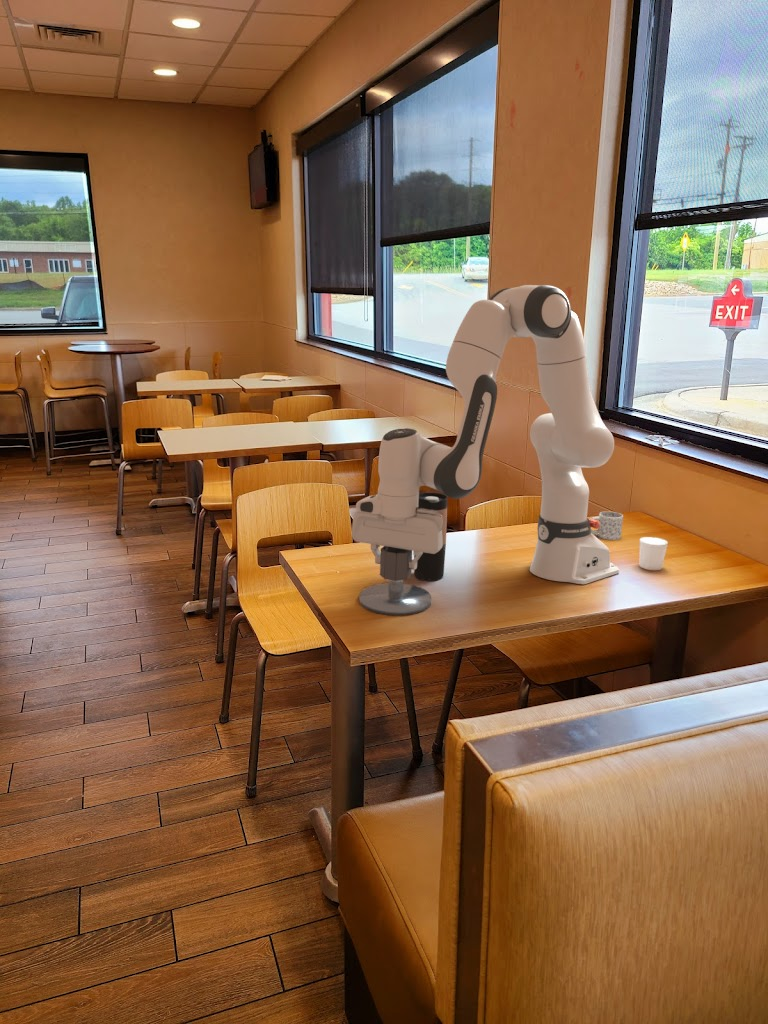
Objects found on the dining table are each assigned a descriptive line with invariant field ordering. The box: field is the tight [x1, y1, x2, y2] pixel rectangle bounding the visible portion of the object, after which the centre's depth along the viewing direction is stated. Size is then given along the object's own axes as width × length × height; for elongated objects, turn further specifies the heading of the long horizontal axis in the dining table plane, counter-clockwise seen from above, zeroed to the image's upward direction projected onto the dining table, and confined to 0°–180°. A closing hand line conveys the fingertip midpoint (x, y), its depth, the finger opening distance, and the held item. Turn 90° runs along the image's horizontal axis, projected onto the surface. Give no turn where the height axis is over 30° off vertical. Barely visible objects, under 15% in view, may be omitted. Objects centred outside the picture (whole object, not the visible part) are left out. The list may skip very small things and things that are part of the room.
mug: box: [588, 510, 624, 541], centre depth 218 cm, size 10×7×7 cm, turn 94°
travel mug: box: [413, 492, 448, 582], centre depth 182 cm, size 8×8×20 cm
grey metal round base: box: [358, 579, 432, 616], centre depth 167 cm, size 16×16×10 cm
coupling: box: [379, 546, 413, 581], centre depth 166 cm, size 6×6×6 cm
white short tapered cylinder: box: [638, 536, 669, 571], centre depth 193 cm, size 7×7×7 cm
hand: (395, 566), depth 166 cm, fingers closed on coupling, 6 cm apart
